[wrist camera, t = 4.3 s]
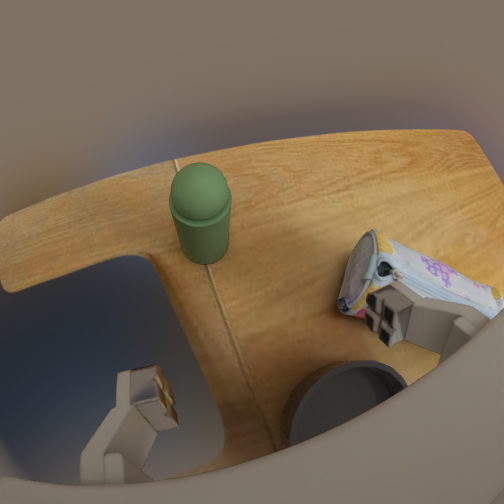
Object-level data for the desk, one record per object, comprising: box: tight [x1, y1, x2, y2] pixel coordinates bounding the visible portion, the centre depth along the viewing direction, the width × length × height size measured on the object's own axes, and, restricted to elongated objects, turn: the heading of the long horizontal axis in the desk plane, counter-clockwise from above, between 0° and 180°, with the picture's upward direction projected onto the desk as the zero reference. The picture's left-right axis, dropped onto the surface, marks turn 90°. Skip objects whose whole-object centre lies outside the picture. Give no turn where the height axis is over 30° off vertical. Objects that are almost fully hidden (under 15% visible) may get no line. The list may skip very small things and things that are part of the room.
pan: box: [281, 361, 408, 449], centre depth 23 cm, size 13×13×4 cm
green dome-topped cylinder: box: [169, 163, 232, 264], centre depth 25 cm, size 5×5×12 cm
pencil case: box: [337, 229, 504, 320], centre depth 26 cm, size 21×9×10 cm, turn 70°
